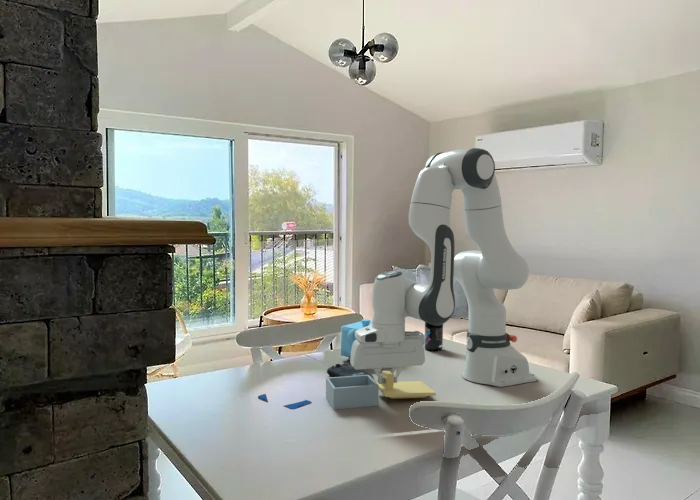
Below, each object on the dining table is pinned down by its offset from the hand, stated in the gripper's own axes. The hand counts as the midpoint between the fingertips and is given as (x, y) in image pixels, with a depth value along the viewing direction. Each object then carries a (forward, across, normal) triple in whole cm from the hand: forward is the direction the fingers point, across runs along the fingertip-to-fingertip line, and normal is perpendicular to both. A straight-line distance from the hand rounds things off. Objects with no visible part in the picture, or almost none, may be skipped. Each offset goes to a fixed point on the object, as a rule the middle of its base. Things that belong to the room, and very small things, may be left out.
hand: (387, 383), depth 144 cm
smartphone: (+6, +27, -6) cm, 28 cm away
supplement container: (+5, -34, -47) cm, 58 cm away
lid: (+2, -5, 0) cm, 5 cm away
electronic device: (+5, +5, -20) cm, 21 cm away
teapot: (+5, -7, -41) cm, 42 cm away
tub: (+5, +10, 0) cm, 11 cm away
